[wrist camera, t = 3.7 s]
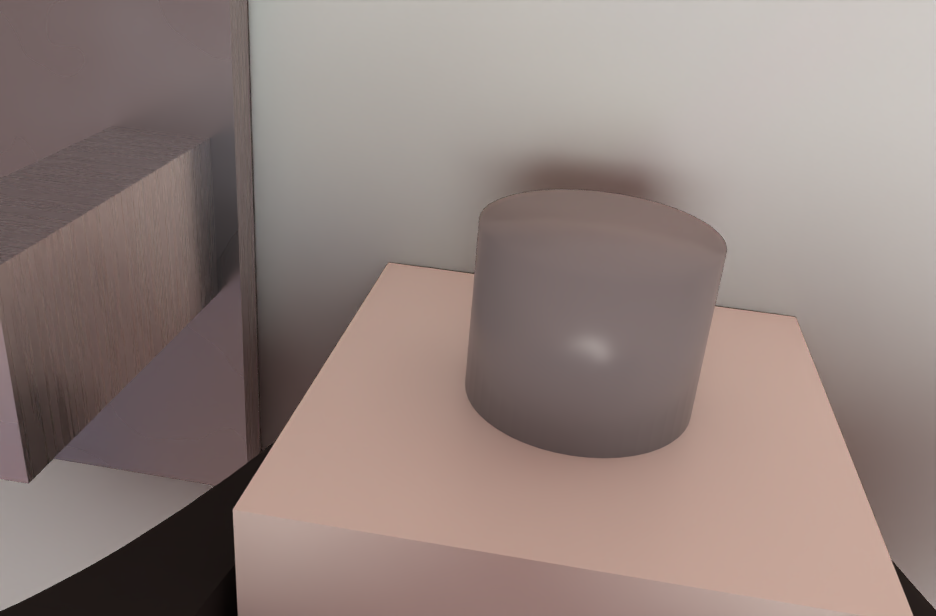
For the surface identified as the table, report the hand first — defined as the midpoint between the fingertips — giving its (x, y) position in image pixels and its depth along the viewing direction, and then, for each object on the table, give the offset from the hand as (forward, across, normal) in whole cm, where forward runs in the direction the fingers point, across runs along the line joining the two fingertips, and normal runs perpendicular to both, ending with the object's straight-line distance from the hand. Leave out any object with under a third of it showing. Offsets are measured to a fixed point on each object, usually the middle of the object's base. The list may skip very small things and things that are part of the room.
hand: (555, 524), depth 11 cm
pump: (+1, 0, 0) cm, 1 cm away
